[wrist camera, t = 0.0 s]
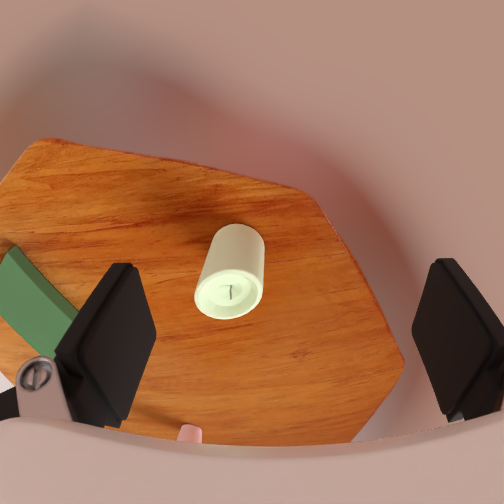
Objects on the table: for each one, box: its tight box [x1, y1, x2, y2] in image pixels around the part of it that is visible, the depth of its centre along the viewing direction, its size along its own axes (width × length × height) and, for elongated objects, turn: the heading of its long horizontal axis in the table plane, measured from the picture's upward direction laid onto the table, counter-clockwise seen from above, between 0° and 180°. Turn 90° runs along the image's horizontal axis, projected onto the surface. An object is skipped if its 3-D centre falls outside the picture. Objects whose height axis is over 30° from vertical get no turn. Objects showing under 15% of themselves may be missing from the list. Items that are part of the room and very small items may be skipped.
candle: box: [194, 224, 265, 319], centre depth 27 cm, size 5×5×8 cm
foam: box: [0, 245, 79, 360], centre depth 37 cm, size 20×14×2 cm
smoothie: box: [176, 424, 202, 443], centre depth 43 cm, size 6×6×14 cm
